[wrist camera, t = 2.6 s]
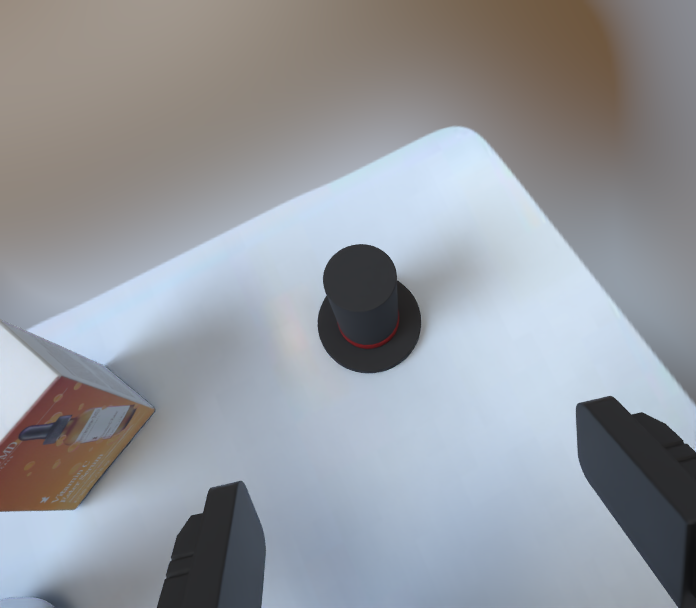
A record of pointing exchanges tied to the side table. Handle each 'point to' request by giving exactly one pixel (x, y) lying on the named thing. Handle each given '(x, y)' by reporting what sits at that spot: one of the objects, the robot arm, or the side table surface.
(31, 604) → the plastic bottle
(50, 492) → the small box
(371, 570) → the side table surface
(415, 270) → the side table surface
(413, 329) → the hat
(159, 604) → the robot arm
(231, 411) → the side table surface
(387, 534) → the side table surface
